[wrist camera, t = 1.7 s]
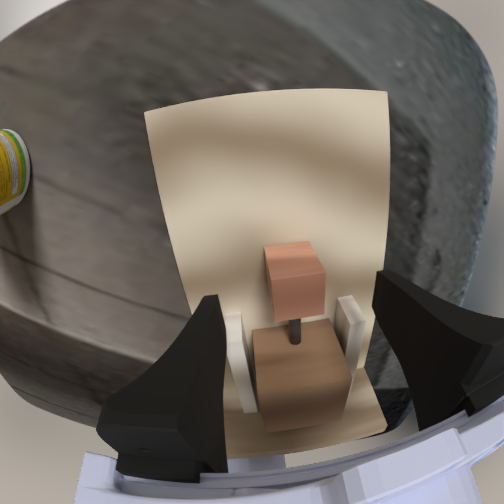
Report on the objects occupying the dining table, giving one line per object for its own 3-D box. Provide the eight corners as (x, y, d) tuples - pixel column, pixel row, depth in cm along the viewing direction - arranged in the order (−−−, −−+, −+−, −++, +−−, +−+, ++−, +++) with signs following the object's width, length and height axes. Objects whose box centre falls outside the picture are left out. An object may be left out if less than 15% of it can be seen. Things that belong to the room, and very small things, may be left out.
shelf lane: (358, 367, 22) (383, 431, 15) (220, 388, 22) (220, 459, 16) (379, 92, 12) (467, 90, 6) (148, 112, 12) (80, 114, 6)
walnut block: (325, 365, 20) (341, 419, 15) (259, 375, 20) (265, 432, 15) (332, 238, 15) (368, 291, 10) (239, 250, 15) (241, 310, 10)
